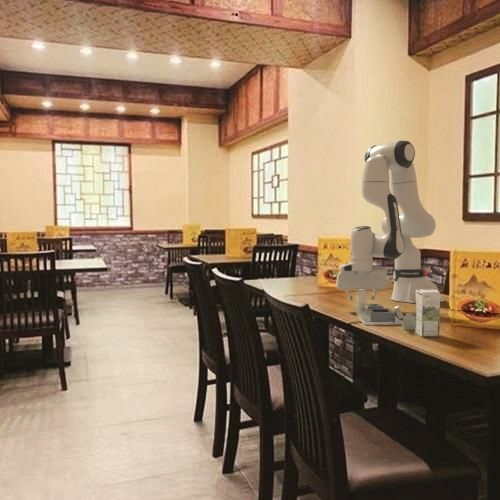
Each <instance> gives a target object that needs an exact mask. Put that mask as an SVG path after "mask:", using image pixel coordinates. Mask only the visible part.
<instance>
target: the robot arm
mask: <svg viewBox="0 0 500 500" xmlns="http://www.w3.org/2000/svg"><path fill="white" fill-rule="evenodd" d="M415 156H416V151H415V147H414V145H413V144H412V143H411V142H410V141H408V140H399V141H398V140H397V141H388V142H384V143H381V144H377V145H371V146H370V147H369V148H367V150H366V152H365V154H364V167H363V170H362V178H361V179H362V180H361V193H362V198H363V199H364V200H365V201H366V202H367V203H369V204H370V205H373V206H376V207H378V208H380V209H381V210H382V211H383V212H384V214H385V217H383V219H382V221H381V230H382V232H383V233H380V234H379V233H375V232H373V231H372V227H371V226H367V225H361V226H357V227H353V229H352V230H351V234H350V251H351V255H350V261H349V262H346V263H343V264H340V265H339V271H338V272H337V275H336V282H335V283H336V284H335V285H336V288H337V289H338V290H345V293H346V294H347V297H348V298H347V300H348V301H353V299H354V298H353V295H351V294H350V292H351V291H350V290H359V289H365V290H373V293H372V295H371V294H370V301H375V300H376V295H377V294H378V290H385V289H387V287H388V280H387V276H388V269H387V267H385V266H383V265H381V266H377V265H376V266H375V265H373V264H374V262H373V261H374V259H373V257H374V258H383V259H384V258H385V259H390V260H394V268H393V273H392V275H393V290H392V294H391V298H390V300H392V301H395V302H396V301H397V302H403V303H410V304H416V290H420V289H435V290H437V291H439V288H438V287H437V285H436V284H435V283H433V282H432V281H431V280H430V279H428V278H427V277H426V276H427V275H429V271H428V270H426V269H423V268H422V267H421V262H422V261H421V259H422V258H421V254H422V253H421V250H420V249H419V248H418V247H417V246H416V245H414V243H413V241H412V238H413V239H416V238H417V239H421V238H426V237H430V236H432V235H433V234H434V232H435V230H436V227H437V225H436V224H437V223H436V219H435V218H434V217H433V215H432V214H430V213H429V212H428V211H427V210H426V208H425V207H424V206H423V204H422V202H421V200H420V196H419V195H420V194H419V190H418V181H417V173H416V169H415V164H414V159H415ZM399 208H400V209H401V211H402V212H399ZM443 302H445V298H444V297H442V296H441V295H440V303H443Z"/></svg>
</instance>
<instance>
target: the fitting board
mask: <svg viewBox="0 0 500 500" xmlns="http://www.w3.org/2000/svg"><path fill="white" fill-rule="evenodd" d="M354 314H355V315H356V316H357V318H359V320H360V322H362V323H363V325H364V326H402V320H401V319H399V318H398V316H396V312H395V310H392V309H391V308H387V307H386V308H385V307H384V305H382V303H367V304H365V310H357V309H356V310H354Z"/></svg>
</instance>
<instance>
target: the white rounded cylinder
mask: <svg viewBox="0 0 500 500" xmlns="http://www.w3.org/2000/svg"><path fill="white" fill-rule="evenodd" d="M365 304H368V289H356V310H365Z"/></svg>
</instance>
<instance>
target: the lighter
mask: <svg viewBox="0 0 500 500" xmlns="http://www.w3.org/2000/svg"><path fill="white" fill-rule="evenodd" d="M393 311H394V312H395V315H397V316H396V317H397V318H398V319H399V320H401V319H402V320H401V321H402V325H401V326H402V327H401V329H402V330H403V331H415V315H414V314H413V313H405V316H404V314H403V312H402V310H401V307H399V305H395V306H394V307H393Z"/></svg>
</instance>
